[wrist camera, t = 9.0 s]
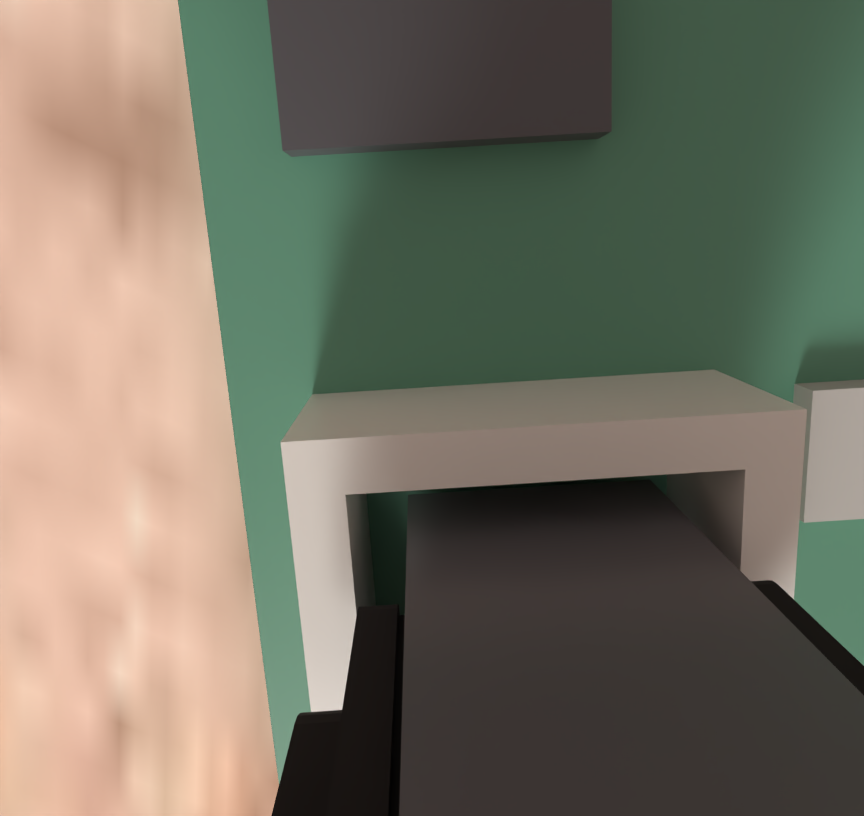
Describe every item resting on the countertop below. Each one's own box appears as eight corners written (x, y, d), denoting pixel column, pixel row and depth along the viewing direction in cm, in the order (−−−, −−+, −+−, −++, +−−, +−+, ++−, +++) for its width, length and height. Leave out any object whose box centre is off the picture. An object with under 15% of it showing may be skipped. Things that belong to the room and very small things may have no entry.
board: (155, -344, 11) (98, -472, 9) (1183, -395, 11) (1349, -533, 9) (292, 764, 15) (274, 840, 13) (1009, 715, 16) (1094, 783, 14)
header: (311, 394, 12) (265, 465, 8) (713, 369, 12) (852, 428, 8) (347, 742, 14) (321, 935, 10) (700, 717, 14) (812, 901, 10)
